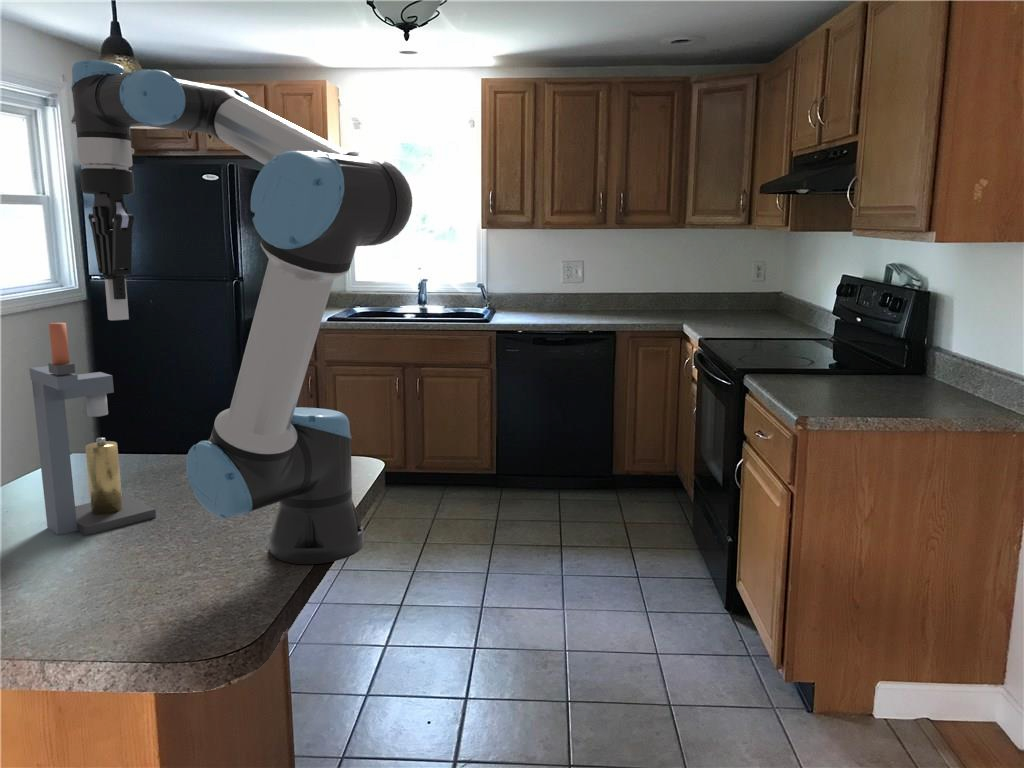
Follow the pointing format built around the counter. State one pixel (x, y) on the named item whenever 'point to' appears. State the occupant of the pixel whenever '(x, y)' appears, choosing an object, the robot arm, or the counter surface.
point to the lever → (60, 350)
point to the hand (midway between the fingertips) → (118, 319)
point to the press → (57, 454)
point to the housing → (104, 477)
